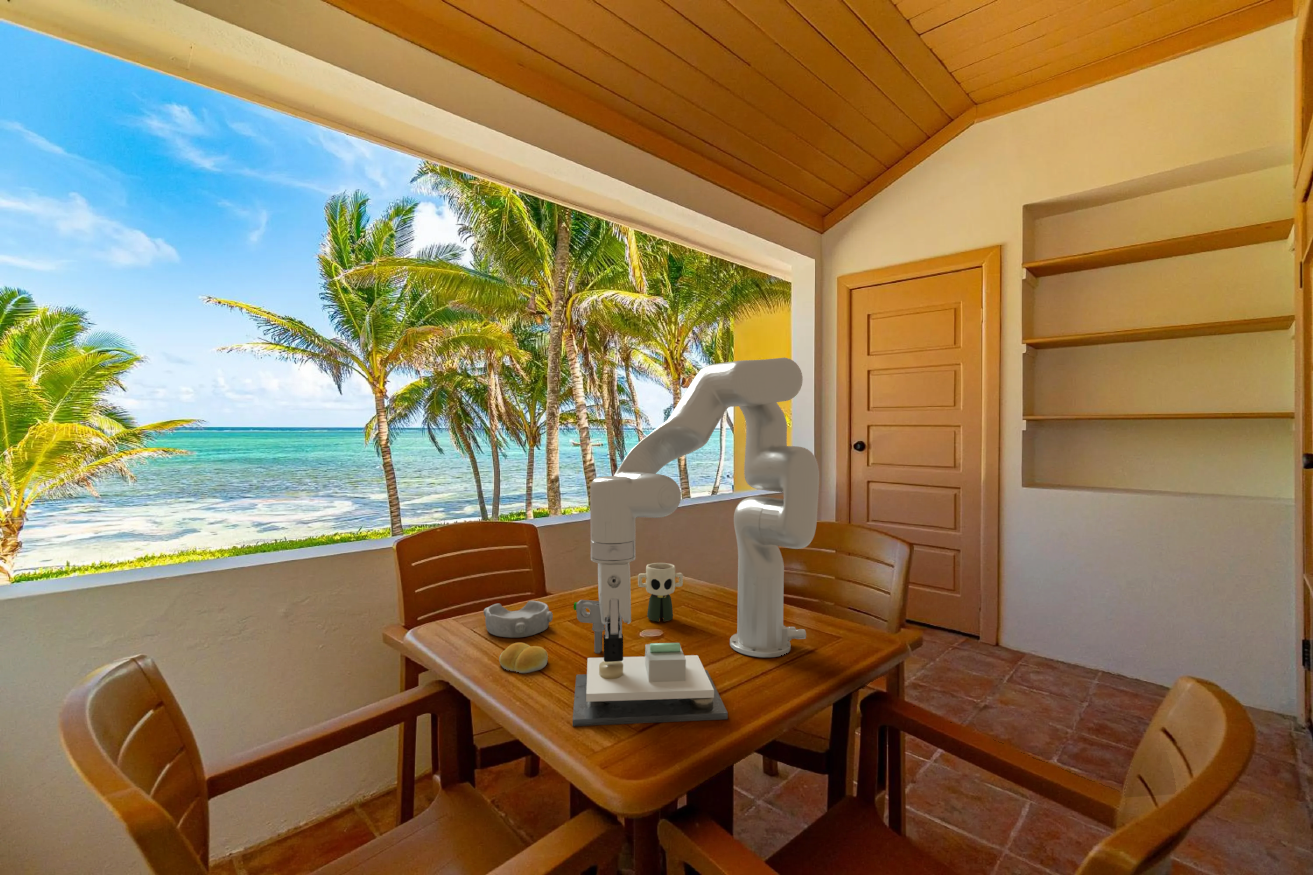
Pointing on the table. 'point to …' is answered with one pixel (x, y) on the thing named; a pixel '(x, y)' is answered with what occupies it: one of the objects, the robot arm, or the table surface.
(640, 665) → the levelling plate
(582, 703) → the dark grey rectangular slab
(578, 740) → the table surface
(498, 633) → the dish
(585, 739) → the table surface
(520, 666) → the bread roll
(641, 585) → the character mug
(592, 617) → the mechanical component
